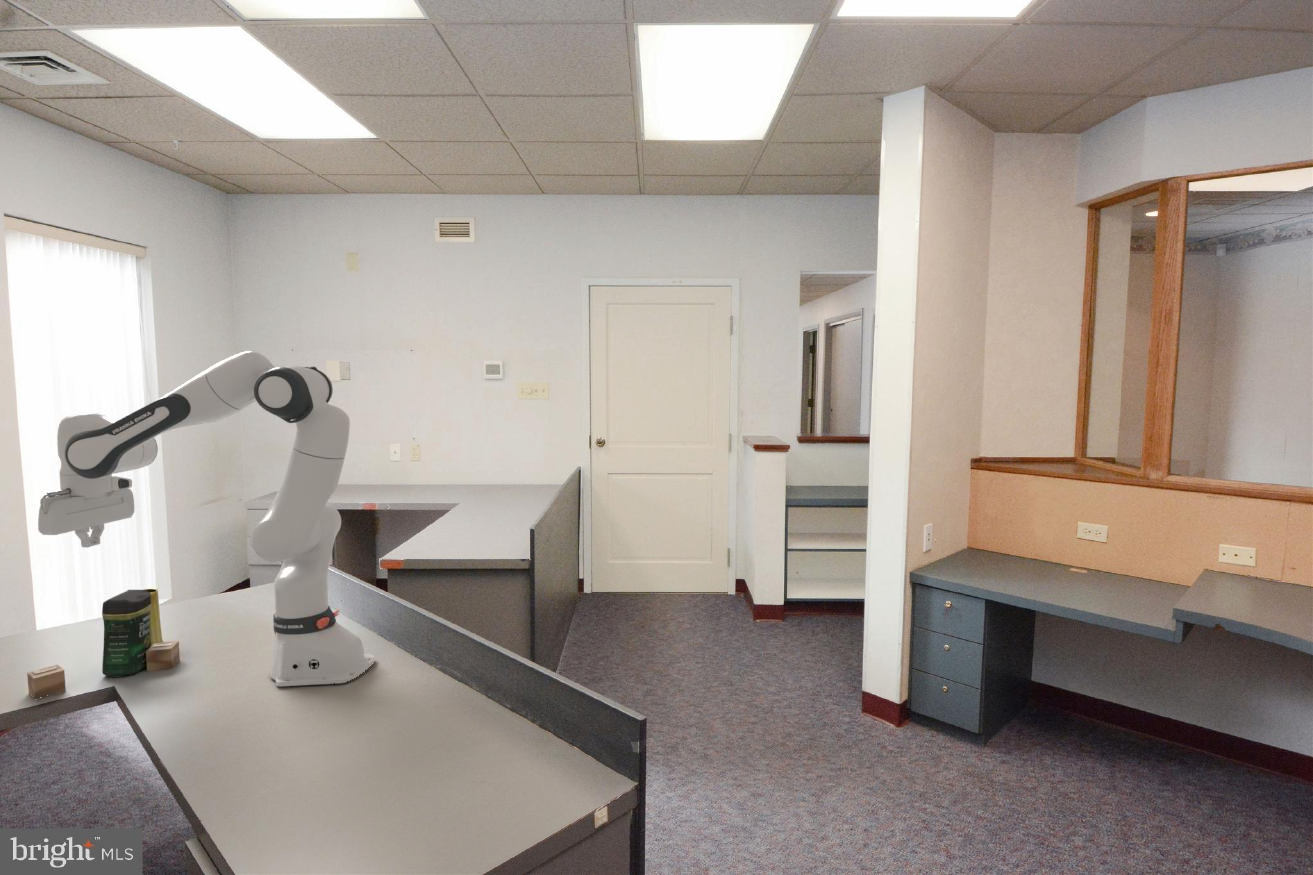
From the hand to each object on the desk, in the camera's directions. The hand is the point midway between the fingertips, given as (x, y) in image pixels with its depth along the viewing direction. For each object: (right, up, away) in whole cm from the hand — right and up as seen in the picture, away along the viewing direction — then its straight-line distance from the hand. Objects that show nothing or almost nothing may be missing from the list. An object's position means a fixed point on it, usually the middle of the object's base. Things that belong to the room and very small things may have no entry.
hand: (91, 545), depth 148 cm
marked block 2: (+9, -31, +10) cm, 33 cm away
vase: (-4, -30, +22) cm, 37 cm away
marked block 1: (-6, -32, -4) cm, 32 cm away
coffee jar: (+3, -31, +7) cm, 32 cm away
